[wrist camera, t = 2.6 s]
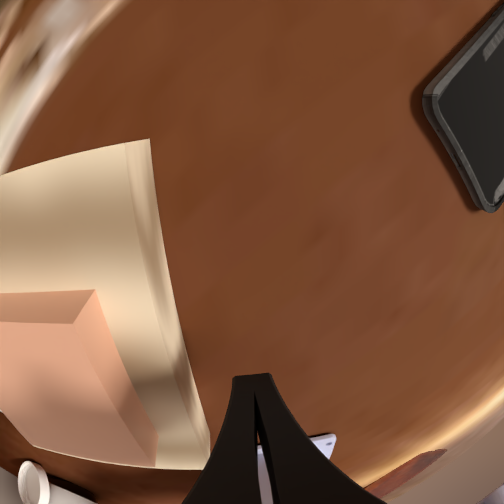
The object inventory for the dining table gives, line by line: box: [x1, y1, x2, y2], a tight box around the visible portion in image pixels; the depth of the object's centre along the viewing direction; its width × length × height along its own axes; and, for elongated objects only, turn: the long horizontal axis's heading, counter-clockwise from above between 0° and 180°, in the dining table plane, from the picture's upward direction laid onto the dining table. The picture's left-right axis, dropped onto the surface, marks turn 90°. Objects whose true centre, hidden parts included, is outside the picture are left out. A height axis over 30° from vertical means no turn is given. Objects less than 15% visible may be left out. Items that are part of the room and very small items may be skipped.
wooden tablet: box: [364, 449, 447, 499], centre depth 29 cm, size 27×10×2 cm, turn 146°
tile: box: [0, 289, 159, 467], centre depth 10 cm, size 9×8×2 cm
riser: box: [0, 139, 210, 470], centre depth 12 cm, size 18×14×3 cm
